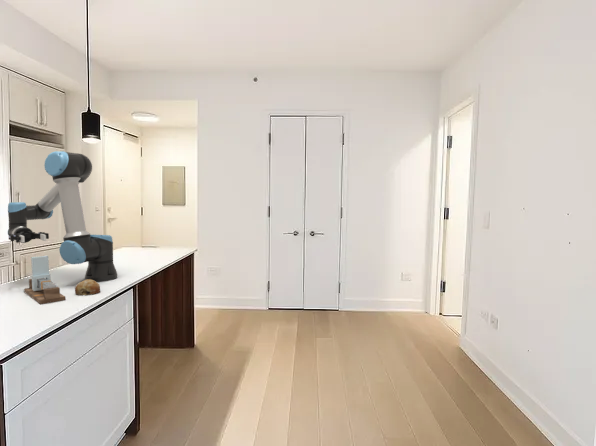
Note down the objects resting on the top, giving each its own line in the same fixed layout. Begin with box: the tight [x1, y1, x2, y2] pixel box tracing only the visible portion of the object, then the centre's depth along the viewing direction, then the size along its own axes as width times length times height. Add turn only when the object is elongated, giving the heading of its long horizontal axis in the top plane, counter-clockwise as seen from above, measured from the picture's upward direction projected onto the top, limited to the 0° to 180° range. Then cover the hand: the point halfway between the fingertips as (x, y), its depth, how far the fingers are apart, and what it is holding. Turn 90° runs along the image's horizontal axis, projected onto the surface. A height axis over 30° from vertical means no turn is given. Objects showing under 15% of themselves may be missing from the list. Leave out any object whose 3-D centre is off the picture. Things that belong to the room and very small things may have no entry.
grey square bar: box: [37, 278, 57, 290], centre depth 171 cm, size 25×3×3 cm, turn 46°
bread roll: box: [74, 279, 101, 296], centre depth 177 cm, size 10×10×8 cm
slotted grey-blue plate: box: [30, 255, 52, 291], centre depth 173 cm, size 3×6×14 cm, turn 136°
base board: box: [23, 278, 66, 305], centre depth 172 cm, size 28×9×6 cm, turn 46°
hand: (34, 238), depth 178 cm, fingers open, 8 cm apart
